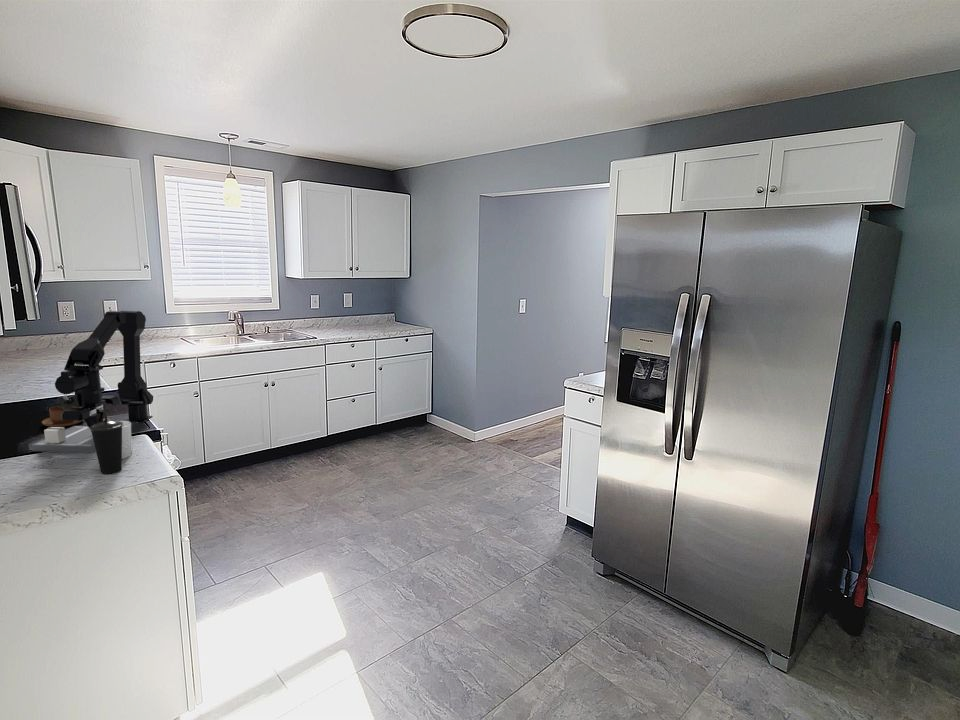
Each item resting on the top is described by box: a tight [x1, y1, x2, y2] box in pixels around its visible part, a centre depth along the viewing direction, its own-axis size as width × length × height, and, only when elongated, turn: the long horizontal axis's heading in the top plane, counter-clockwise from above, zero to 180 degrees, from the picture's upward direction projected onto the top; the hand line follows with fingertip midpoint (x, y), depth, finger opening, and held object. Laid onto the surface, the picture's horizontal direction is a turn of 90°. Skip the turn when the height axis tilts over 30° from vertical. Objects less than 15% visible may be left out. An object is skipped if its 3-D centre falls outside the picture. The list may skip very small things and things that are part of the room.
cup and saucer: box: [41, 405, 84, 428], centre depth 188 cm, size 12×12×6 cm
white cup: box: [119, 420, 133, 460], centre depth 161 cm, size 8×8×10 cm
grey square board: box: [31, 425, 96, 454], centre depth 172 cm, size 18×18×2 cm
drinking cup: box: [90, 403, 123, 476], centre depth 150 cm, size 8×8×20 cm
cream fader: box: [43, 427, 66, 443], centre depth 166 cm, size 3×4×4 cm
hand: (94, 433), depth 172 cm, fingers closed
